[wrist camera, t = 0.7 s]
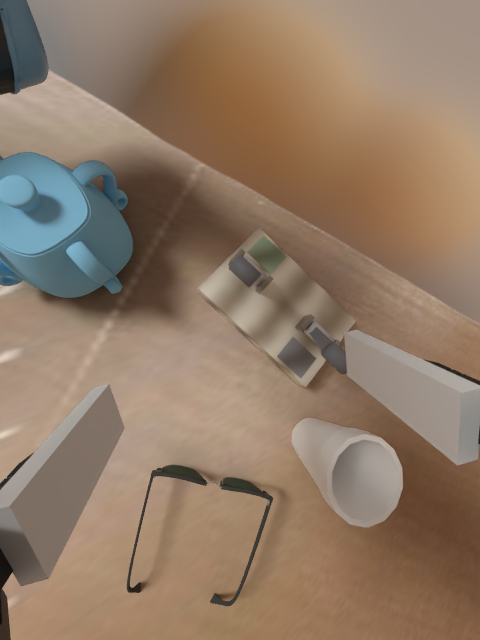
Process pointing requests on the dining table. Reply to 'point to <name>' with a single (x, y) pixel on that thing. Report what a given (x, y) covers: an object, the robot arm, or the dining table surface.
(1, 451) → the dining table surface
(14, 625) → the dining table surface
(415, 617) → the dining table surface
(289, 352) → the switch base
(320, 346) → the lever
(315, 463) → the foam cup
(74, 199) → the decorative pot
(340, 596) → the dining table surface
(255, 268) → the lever
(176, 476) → the sunglasses
